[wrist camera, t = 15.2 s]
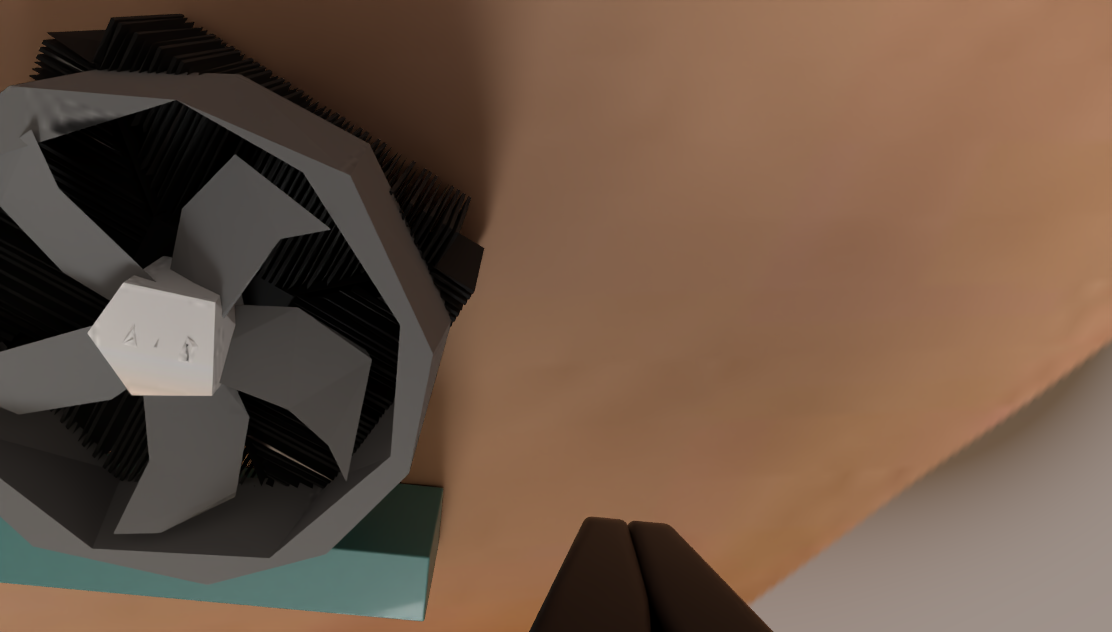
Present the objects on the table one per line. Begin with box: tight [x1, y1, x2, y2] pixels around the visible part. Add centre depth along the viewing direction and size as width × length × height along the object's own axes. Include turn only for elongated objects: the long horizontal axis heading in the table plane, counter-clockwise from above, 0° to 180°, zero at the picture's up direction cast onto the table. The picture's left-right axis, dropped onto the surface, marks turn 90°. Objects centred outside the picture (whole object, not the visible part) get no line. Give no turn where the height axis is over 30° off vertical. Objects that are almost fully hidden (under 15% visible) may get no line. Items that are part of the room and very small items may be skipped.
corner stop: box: [0, 454, 444, 621], centre depth 19 cm, size 14×13×3 cm
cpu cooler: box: [0, 14, 484, 585], centre depth 17 cm, size 10×6×10 cm
